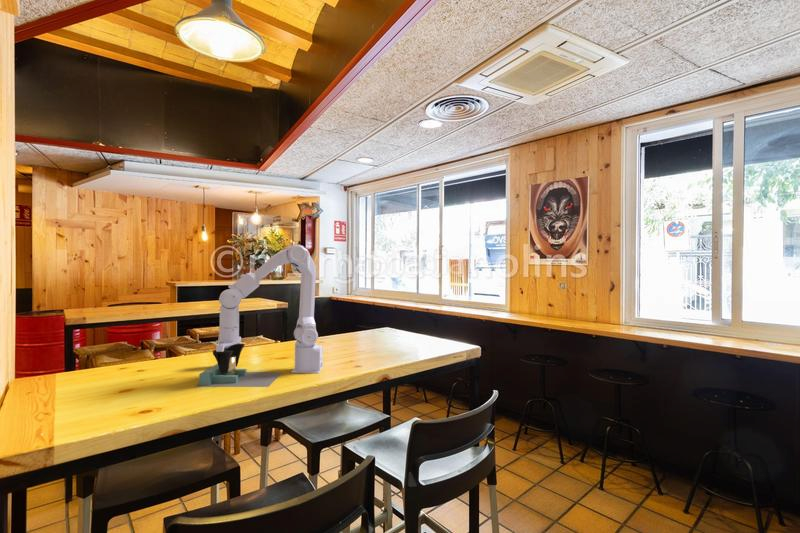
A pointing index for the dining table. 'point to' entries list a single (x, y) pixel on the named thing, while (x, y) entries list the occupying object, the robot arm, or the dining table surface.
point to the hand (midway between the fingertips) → (228, 369)
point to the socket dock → (218, 376)
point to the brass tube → (231, 366)
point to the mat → (250, 380)
